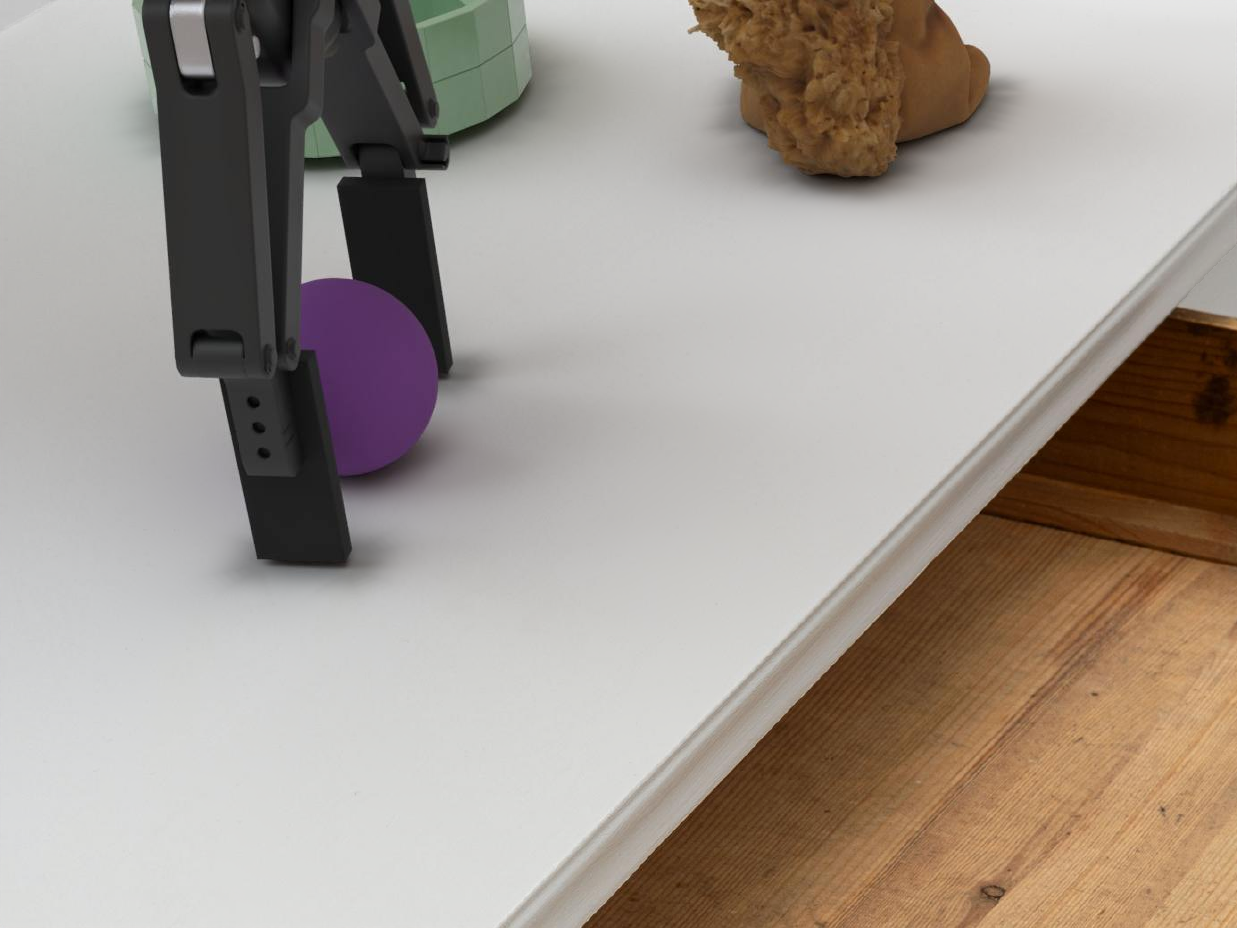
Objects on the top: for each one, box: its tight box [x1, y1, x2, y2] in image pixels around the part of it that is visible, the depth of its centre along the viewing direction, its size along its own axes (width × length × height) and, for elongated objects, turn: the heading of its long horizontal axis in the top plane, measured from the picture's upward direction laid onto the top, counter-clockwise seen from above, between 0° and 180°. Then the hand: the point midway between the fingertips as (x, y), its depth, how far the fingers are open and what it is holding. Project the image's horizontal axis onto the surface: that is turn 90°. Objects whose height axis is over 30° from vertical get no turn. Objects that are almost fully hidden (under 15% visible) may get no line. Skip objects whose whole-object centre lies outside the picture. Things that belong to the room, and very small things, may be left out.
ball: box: [300, 277, 440, 477], centre depth 80 cm, size 6×6×6 cm
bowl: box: [131, 0, 533, 159], centre depth 104 cm, size 15×15×5 cm
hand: (361, 456), depth 81 cm, fingers open, 11 cm apart
